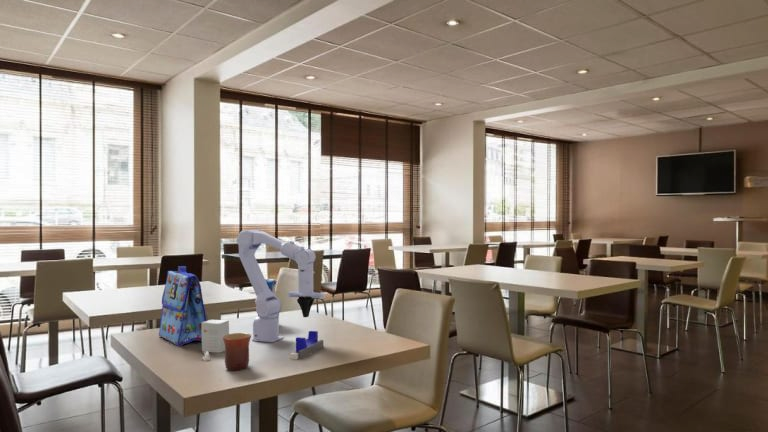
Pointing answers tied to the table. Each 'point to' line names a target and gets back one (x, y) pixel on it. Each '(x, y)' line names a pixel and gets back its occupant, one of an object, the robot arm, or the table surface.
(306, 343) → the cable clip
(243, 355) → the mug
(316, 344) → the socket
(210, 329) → the small box
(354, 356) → the table surface
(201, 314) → the lunch bag
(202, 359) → the power adapter
